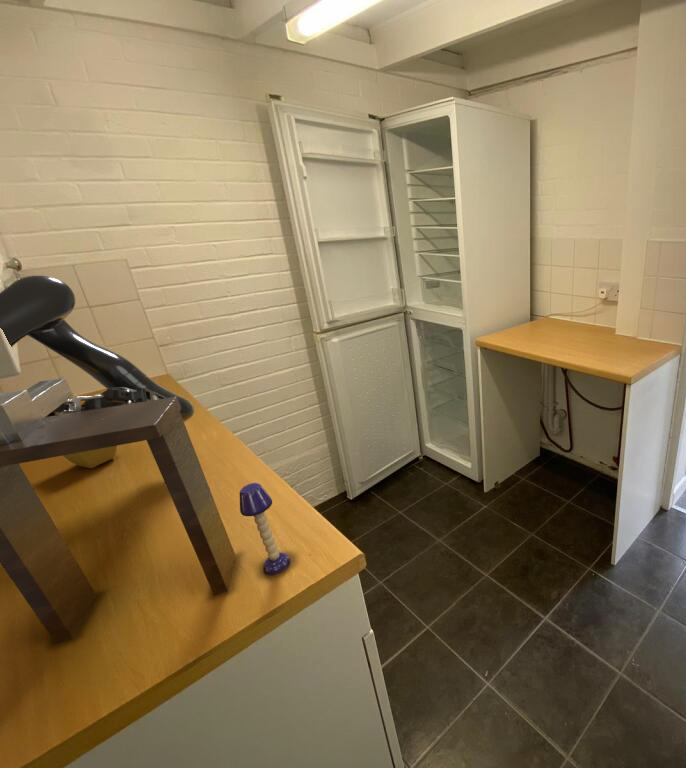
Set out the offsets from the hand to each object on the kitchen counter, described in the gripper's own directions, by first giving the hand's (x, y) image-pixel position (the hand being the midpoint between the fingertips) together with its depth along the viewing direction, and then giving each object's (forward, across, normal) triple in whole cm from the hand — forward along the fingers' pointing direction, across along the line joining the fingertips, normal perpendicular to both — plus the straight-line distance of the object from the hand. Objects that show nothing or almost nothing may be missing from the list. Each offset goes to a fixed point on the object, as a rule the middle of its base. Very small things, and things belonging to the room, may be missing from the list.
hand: (77, 398), depth 69 cm
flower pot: (-49, -22, +6) cm, 54 cm away
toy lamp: (0, +24, +35) cm, 43 cm away
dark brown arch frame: (-1, +6, +34) cm, 35 cm away
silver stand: (+11, 0, +4) cm, 12 cm away
